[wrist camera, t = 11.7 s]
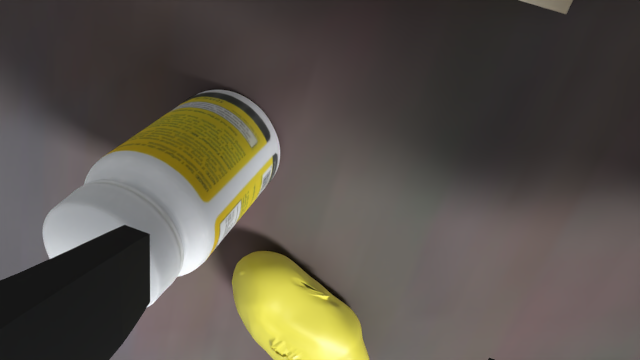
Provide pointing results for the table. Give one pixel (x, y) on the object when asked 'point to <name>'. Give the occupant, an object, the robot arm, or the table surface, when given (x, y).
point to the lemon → (293, 311)
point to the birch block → (552, 4)
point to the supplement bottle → (174, 184)
